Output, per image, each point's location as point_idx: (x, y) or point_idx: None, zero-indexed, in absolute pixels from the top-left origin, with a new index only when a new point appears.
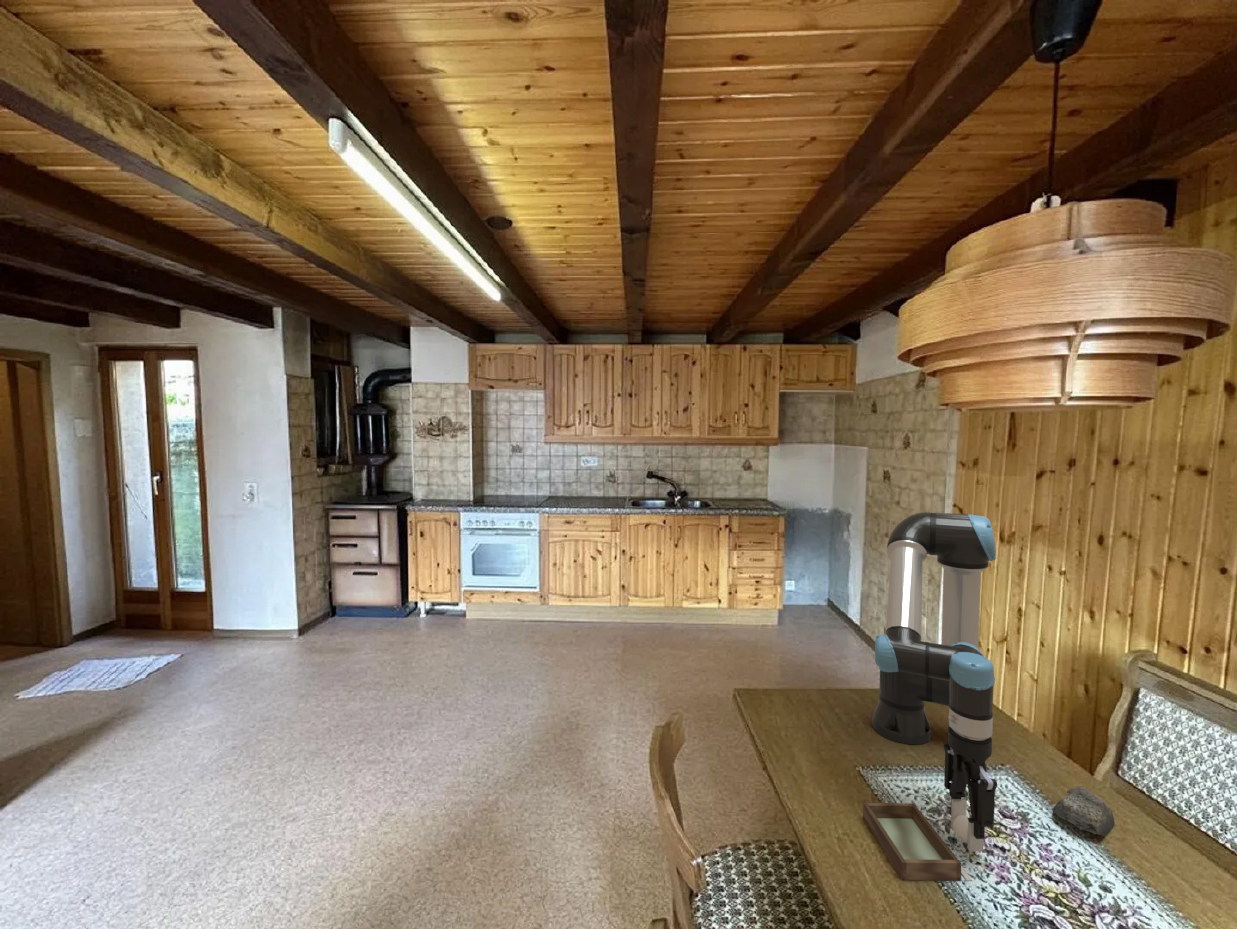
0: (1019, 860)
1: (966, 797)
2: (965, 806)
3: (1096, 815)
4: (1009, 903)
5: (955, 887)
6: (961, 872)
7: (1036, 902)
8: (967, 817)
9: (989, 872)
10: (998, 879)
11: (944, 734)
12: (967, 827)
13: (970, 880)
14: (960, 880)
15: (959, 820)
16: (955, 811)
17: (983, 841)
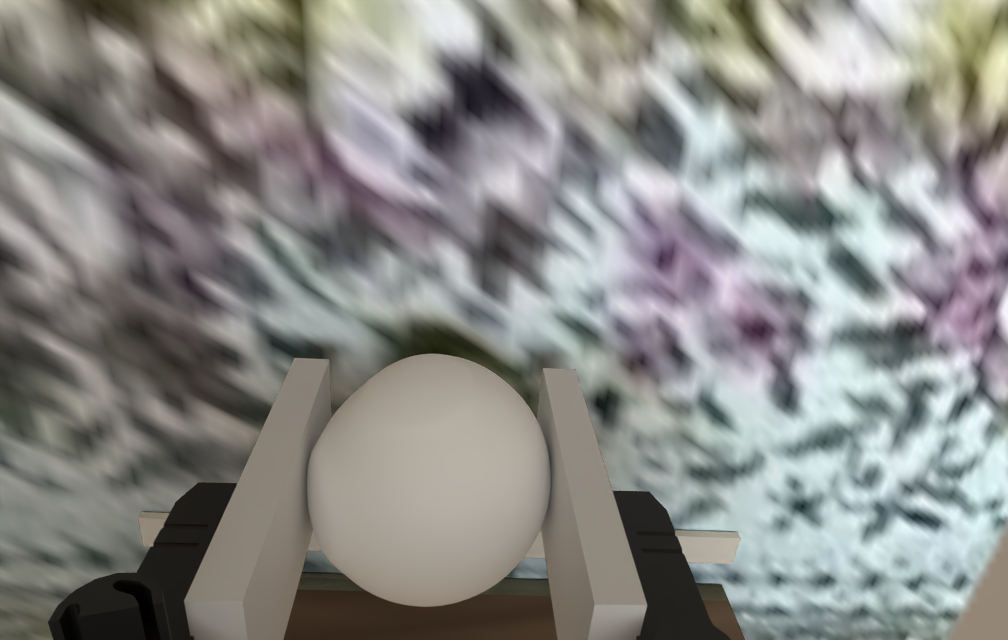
0: (631, 39)
1: (151, 580)
2: (264, 552)
3: None
4: (938, 433)
5: (751, 628)
6: None
7: (1004, 258)
8: (413, 559)
9: (698, 386)
10: (765, 369)
11: None
12: (508, 571)
13: (738, 543)
14: (720, 587)
15: (421, 606)
16: (290, 591)
17: (590, 423)
